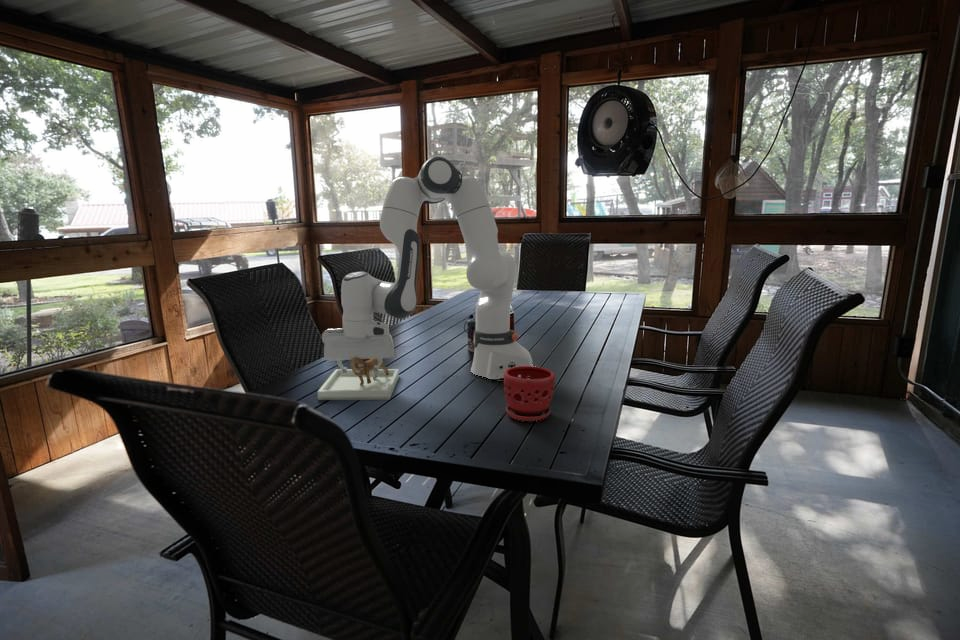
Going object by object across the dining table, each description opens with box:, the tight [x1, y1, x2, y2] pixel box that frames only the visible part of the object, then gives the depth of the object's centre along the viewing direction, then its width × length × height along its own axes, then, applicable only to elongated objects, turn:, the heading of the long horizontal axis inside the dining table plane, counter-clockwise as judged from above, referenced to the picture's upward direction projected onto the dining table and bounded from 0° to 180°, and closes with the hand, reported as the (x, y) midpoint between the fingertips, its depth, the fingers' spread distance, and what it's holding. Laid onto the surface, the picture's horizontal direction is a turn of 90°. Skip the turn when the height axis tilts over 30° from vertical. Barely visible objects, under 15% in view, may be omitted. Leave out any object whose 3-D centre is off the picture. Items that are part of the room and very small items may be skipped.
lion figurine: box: [349, 357, 389, 385], centre depth 156 cm, size 15×5×9 cm, turn 157°
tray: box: [317, 368, 400, 401], centre depth 155 cm, size 20×20×2 cm
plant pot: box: [503, 366, 556, 421], centre depth 134 cm, size 13×13×12 cm
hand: (360, 372), depth 154 cm, fingers open, 8 cm apart
